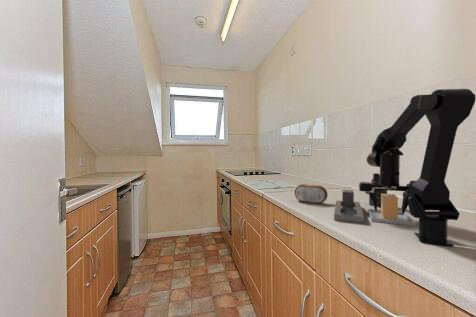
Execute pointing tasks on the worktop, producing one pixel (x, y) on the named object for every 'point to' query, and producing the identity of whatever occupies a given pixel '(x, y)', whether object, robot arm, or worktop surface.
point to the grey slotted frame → (348, 213)
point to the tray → (402, 219)
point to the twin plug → (348, 198)
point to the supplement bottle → (377, 195)
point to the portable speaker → (311, 193)
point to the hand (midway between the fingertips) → (389, 212)
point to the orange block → (389, 206)
